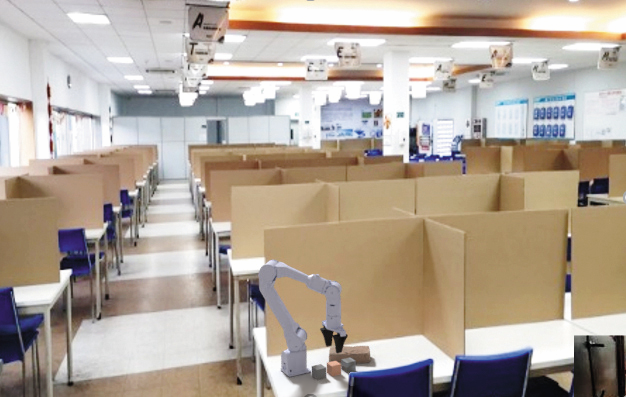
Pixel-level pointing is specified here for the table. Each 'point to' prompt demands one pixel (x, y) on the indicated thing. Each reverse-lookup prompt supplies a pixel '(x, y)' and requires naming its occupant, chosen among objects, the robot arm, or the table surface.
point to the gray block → (318, 372)
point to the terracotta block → (333, 368)
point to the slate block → (348, 365)
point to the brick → (350, 354)
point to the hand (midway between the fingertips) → (333, 349)
